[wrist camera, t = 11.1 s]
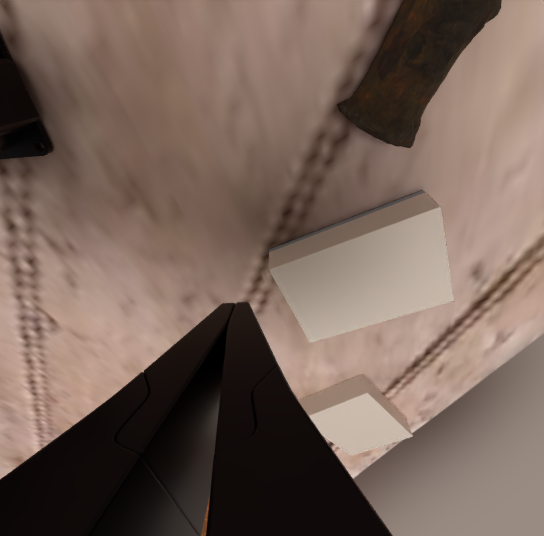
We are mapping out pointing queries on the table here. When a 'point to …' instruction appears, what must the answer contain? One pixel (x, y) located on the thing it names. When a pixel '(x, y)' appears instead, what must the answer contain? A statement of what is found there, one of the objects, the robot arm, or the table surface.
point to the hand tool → (414, 65)
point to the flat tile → (366, 268)
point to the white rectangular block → (356, 416)
